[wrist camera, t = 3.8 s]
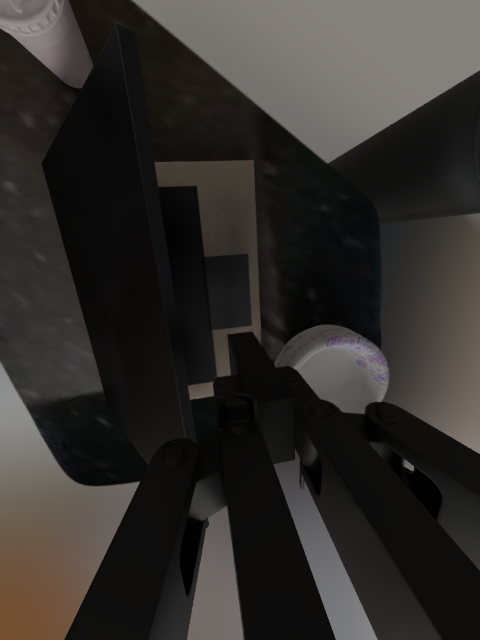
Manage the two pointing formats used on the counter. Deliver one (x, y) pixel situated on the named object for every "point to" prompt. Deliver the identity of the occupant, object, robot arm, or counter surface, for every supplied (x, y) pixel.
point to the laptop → (211, 260)
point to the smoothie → (49, 36)
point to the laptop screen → (121, 248)
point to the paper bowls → (338, 366)
